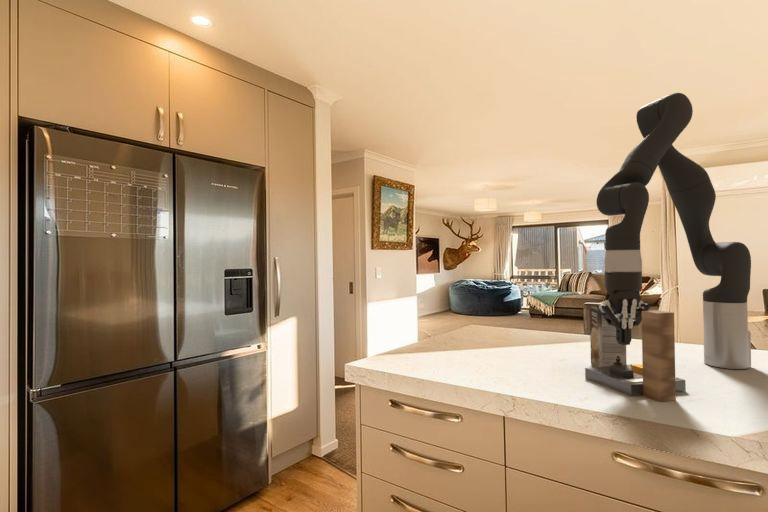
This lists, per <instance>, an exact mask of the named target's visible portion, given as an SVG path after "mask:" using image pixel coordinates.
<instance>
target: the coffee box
mask: <svg viewBox="0 0 768 512" xmlns="http://www.w3.org/2000/svg"><path fill="white" fill-rule="evenodd" d="M611 311H612V310H611ZM589 326H590V327H589V328H590V329H589V331H590V332H589V336H590V338H589V339H590V340H589V341H590V365H591V366H592V367H605V366H618V365H627V345H621V344H618V342H617V340H616V327H615V326H612V325H609V324H608V323H607V322H606V320H605V319H604V317H603V316H602V315H601V313H600V312H599V310H598V309H597V306H590V307H589Z"/></svg>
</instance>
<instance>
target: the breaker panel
mask: <svg viewBox="0 0 768 512" xmlns="http://www.w3.org/2000/svg"><path fill="white" fill-rule="evenodd" d="M584 374H585V377H584V378H585V379H587V380H588V381H592V382H594V383H596V384H599V385H601V386H604V387H607V388H609V389H611V390H613V391H616V392H618V393H621V394H623V395H626V396H629V397H643V364H640V363H630V364H626V365H618V366H605V367H593V366H592V367H585V368H584ZM675 385H676V393H683V392H684V393H685V392H686V391H687V390H686V389H687V388H686V379H684V378H680V377H676V376H675Z"/></svg>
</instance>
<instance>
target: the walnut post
mask: <svg viewBox="0 0 768 512" xmlns="http://www.w3.org/2000/svg"><path fill="white" fill-rule="evenodd" d="M675 335H676V334H675V312H673V311H672V312H671V311H665V310H659V309H658V310H657V309H656V310H653V309H652V310H648V311H642V321H641V348H642V349H641V350H642V351H641V352H642V356H641V357H642V358H641V359H642V365H643V396H644V397H646V398H648V399H650V400H654V401H655V402H656V401H657V402H659V403H660V402H661V403H662V402H673V401H677V400H676V399H677V397H676V395H677V394H676V393H677V392H676V385H675V377H676V351H675V350H676V347H675V346H676V343H675V341H676V340H675ZM643 396H642V397H643Z"/></svg>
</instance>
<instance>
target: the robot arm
mask: <svg viewBox="0 0 768 512" xmlns="http://www.w3.org/2000/svg"><path fill="white" fill-rule="evenodd" d="M635 117H636V123H637V127H638V130H639V133H641V136H642V138H643V139H642V140H641V141H640V142H639V143H637V144H636V146H634V147H633V148H632V150H631V151H630V152H629V153H628V155H627V156H626V157H625V159H624V162H623V163H622V165H621V167H620V169H619V170H618V171H617V172H616V173H615V174H614V175H613V176H612V177H610V179H609V180H608V181H607V182H606V183H604V185H603V186H602V187H601V188H600V190H599V191H598V193H597V197H596V207H597V210H598V212H599V213H601V214H602V215H604V216H609V217H610V216H611V217H612V216H623V215H624V217H623V218H622V220H621V222H619V223H617V224H613V225H611V226H607V228H606V230H605V234H604V235H605V236H604V237H605V241H604V242H605V243H604V244H605V252H604V253H605V254H604V261H603V262H604V289H605V290H606V294H605V297H604V301H603V302H601V304H600V303H598V304H597V305H596V307H597V309H598V310H599V312H600V313H601V315H602V316H603V317H604V319H605V320H606V322H607V323H608V324H609V325H612V326H615V327H616V340H617V342H618V344H621V345H626V346H629V345H631V342H632V329H633V327H636V326H639V325H640V324H641V323H642V311H650V308H651V305H650V304H649V303H645V302H644V301H643V300H642V296H641V294H640V291H641V290H643V259H642V252H641V231H642V226H643V223H644V218H645V217H646V216H645V215H646V213H647V210H648V207H649V201H650V194H649V191H648V188H647V187H646V186H647V185H648V184H649V183H650V182H651V180H652V177H653V176H654V174H655V172H656V169H657V168H659V171H660V173H661V176H662V178H663V181H664V183H665V185H666V188H667V191H668V193H669V196H670V198H671V201H672V203H673V205H674V206H675V211H676V212H677V214H678V217H679V219H680V222H681V225H682V227H683V230H684V233H685V236H686V239H687V243H688V247H689V250H690V253H691V254H690V255H691V258H692V260H693V264H694V265H695V267H696V269H697V271H699V273H701V275H704V276H712V277H720V281H719V283H718V284H717V285H715V286H714V287H711V288H708V289H705V290H703V292H702V317H703V319H702V321H703V323H702V324H703V326H702V329H703V363H704V364H706V365H709V366H711V367H716V368H722V369H727V370H729V369H731V370H747V369H749V368H751V367H752V346H751V345H752V344H751V343H752V342H751V341H752V339H751V331H750V330H749V318H748V314H749V313H748V297H749V293H750V290H751V272H752V271H751V269H752V257H751V253H750V252H751V251H750V250H749V248H748V247H747V245H745V244H744V243H743V242H739V241H726V242H725V241H722V242H719V241H718V242H716V241H715V240H714V238H713V235H712V233H711V230H710V219H711V217H712V213H713V211H714V207H715V203H716V198H717V196H716V194H717V193H716V190H715V188H714V186H713V183H712V181H711V178H710V176H709V174H708V172H707V170H705V168H703V167H702V166H701V165H700V164H698V163H697V162H695V161H694V160H693V159H690V158H689V157H688V156H686V155H684V154H682V153H681V152H680V151H679V150H678V149H677V148H675V146H674V145H673V144H674V142H675V141H676V140H677V139H678V137H679V136H680V135H681V134H682V132H683V131H684V130H685V129H686V128H687V127H688V125H689V124H690V122H691V120H692V118H693V104H692V102H691V101H690V98H689V97H688V96H687V95H686V94H685V93H682V92H674V93H671V94H668V95H665V96H663V97H661V98H658V99H656V100H654V101H651V102H650V103H647V104H645V105H643V106H641V107H640V108H639V109H638V110H637V112H636V116H635ZM611 310H612V311H611Z"/></svg>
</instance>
